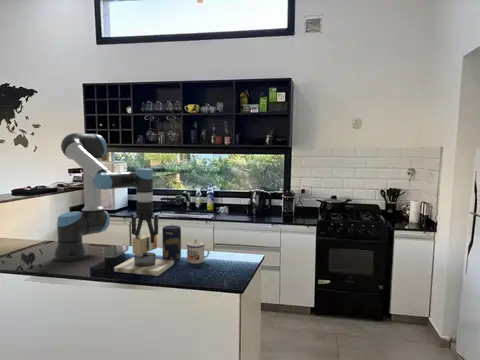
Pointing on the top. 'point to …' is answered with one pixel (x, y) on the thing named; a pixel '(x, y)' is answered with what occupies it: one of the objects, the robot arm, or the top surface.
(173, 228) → the canister
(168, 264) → the base plate
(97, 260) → the top surface
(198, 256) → the teacup with lid
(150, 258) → the yellow block on stand
